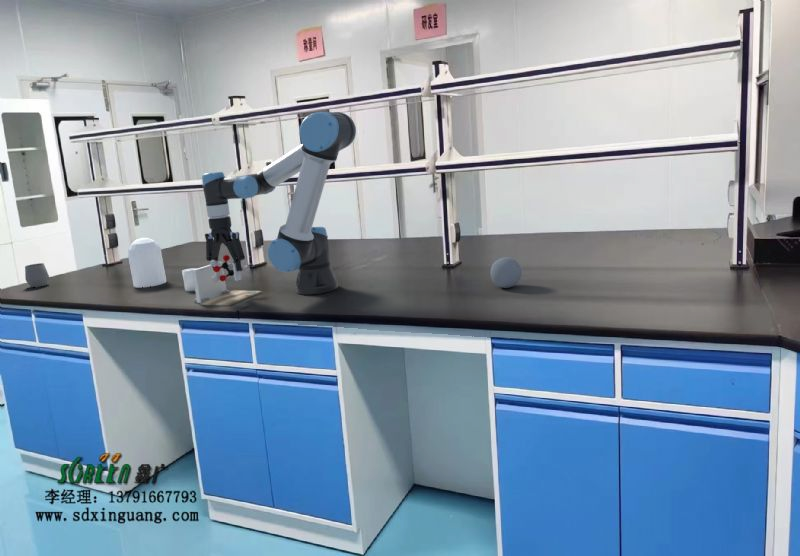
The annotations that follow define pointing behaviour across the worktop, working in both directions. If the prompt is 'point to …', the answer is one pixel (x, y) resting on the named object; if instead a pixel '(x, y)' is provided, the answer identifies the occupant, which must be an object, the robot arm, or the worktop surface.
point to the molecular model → (225, 266)
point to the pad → (230, 298)
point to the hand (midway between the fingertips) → (228, 279)
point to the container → (146, 263)
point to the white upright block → (188, 279)
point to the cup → (36, 275)
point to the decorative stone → (505, 272)
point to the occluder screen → (207, 284)
